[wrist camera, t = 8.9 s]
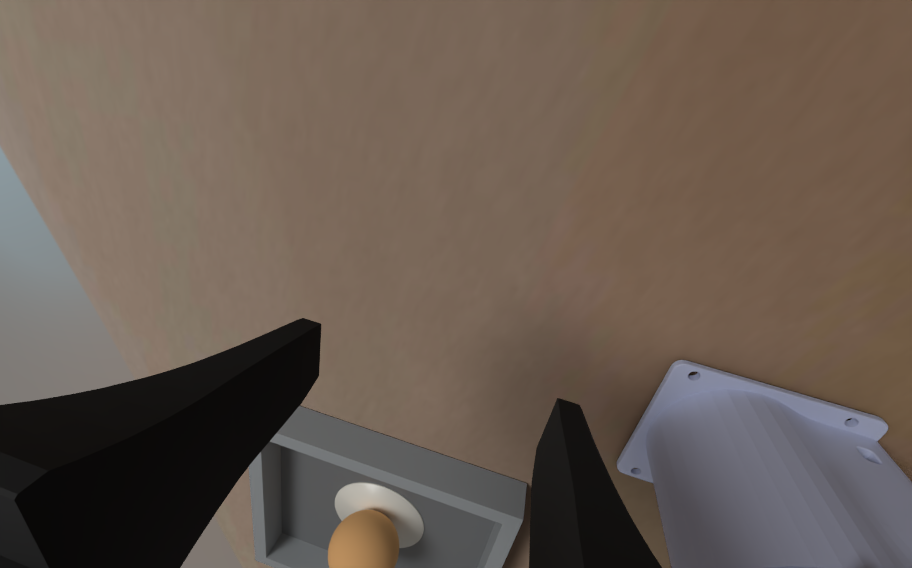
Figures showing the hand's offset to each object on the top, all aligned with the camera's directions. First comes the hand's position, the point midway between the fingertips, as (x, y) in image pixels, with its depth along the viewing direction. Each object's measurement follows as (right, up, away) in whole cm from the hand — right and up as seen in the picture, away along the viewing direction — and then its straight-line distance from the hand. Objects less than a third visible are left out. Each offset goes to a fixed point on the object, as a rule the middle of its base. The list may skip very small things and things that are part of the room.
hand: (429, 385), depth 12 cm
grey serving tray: (-5, -14, +19) cm, 24 cm away
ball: (-6, -15, +17) cm, 23 cm away
